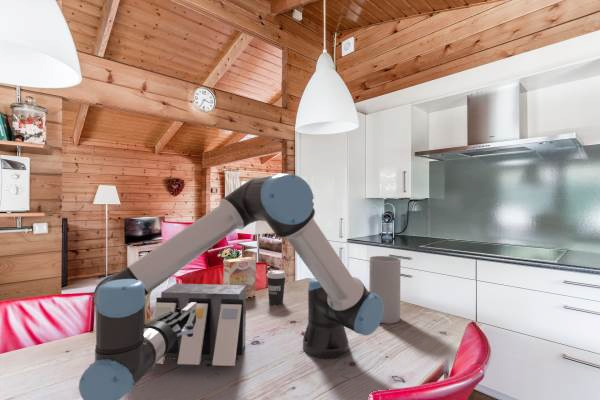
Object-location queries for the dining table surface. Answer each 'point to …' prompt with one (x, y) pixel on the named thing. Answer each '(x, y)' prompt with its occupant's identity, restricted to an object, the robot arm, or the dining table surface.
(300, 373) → the dining table surface
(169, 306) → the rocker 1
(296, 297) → the dining table surface
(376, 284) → the cylinder vase
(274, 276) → the coffee cup
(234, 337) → the cream flat slab
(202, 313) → the cream flat slab
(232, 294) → the card holder crate
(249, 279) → the coffeecake box
